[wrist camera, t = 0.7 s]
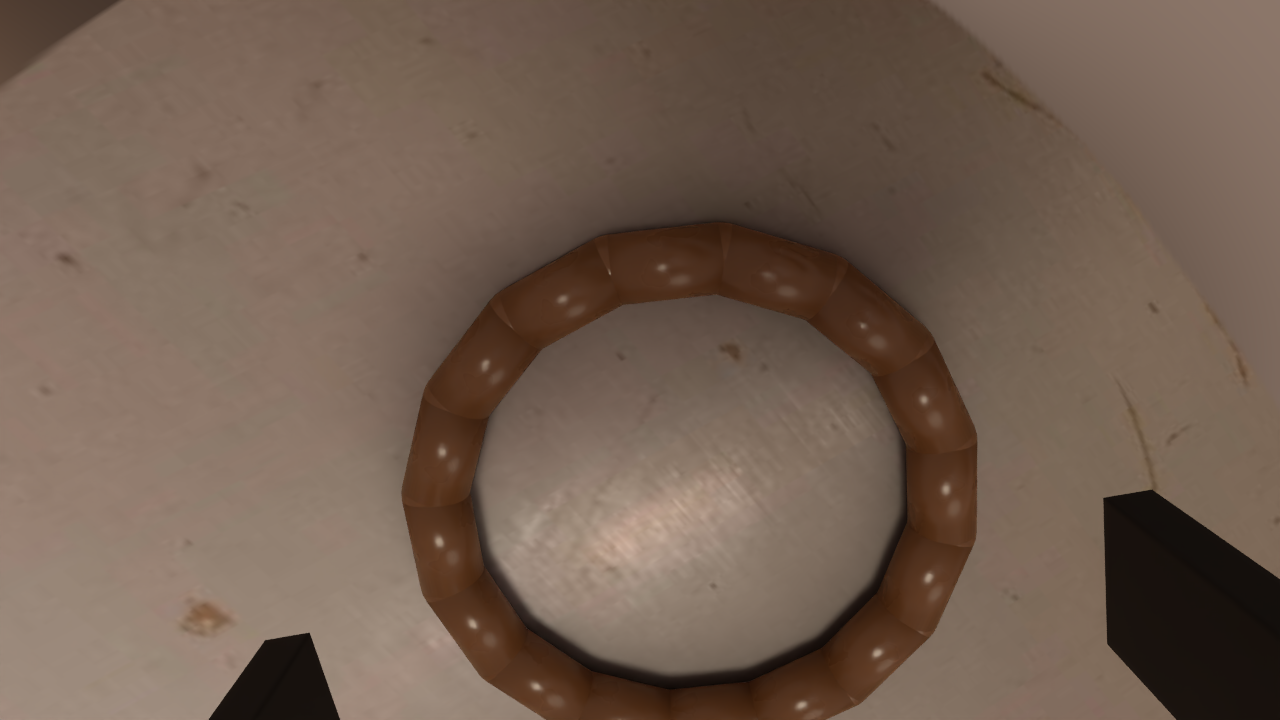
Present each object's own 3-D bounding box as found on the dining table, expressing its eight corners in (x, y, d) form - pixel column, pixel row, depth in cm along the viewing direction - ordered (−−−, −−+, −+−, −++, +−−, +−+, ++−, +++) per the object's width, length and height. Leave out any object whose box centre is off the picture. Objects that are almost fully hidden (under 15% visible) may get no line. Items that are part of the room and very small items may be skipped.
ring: (306, 396, 29) (278, 418, 27) (818, 110, 27) (836, 108, 25) (588, 795, 35) (585, 843, 32) (1041, 588, 32) (1073, 624, 30)
